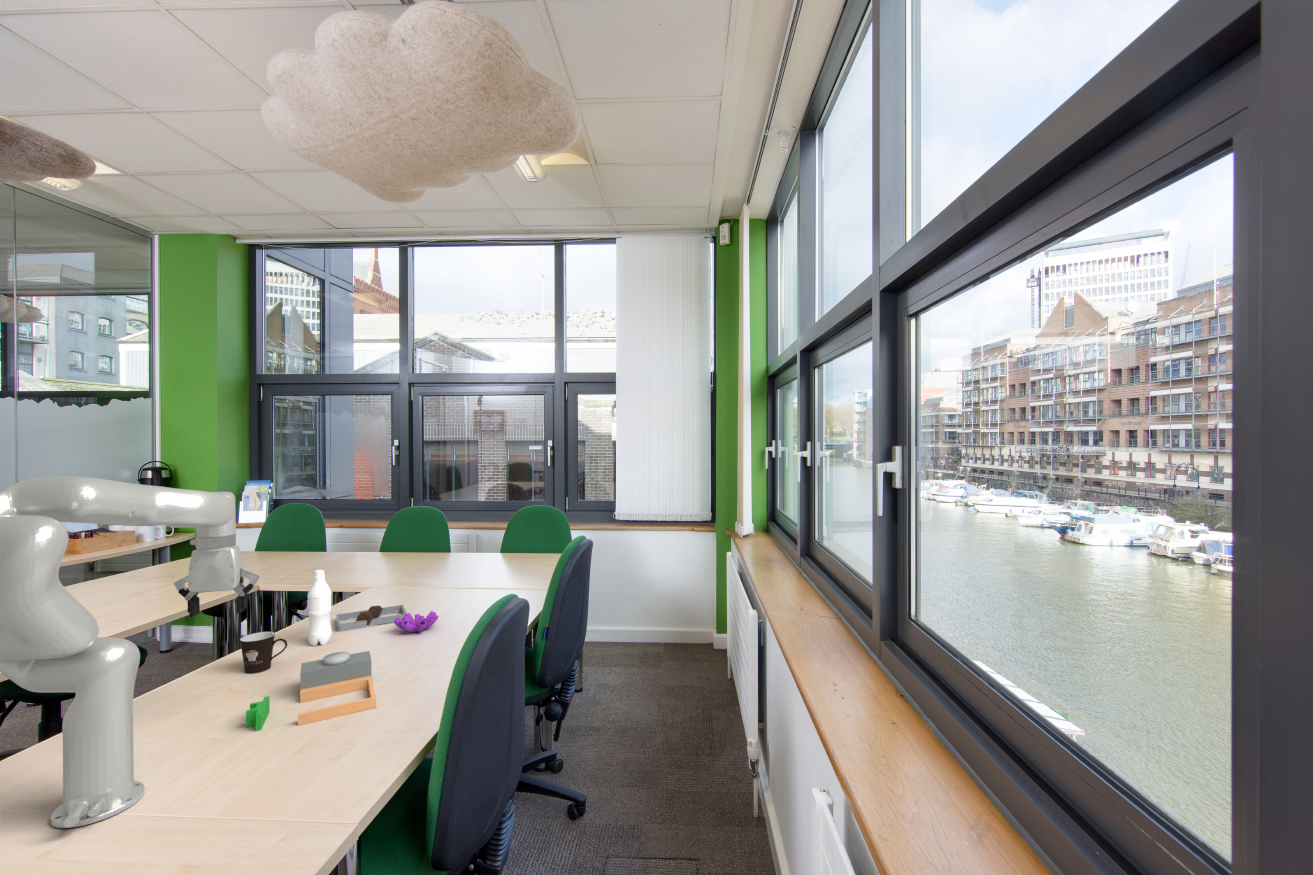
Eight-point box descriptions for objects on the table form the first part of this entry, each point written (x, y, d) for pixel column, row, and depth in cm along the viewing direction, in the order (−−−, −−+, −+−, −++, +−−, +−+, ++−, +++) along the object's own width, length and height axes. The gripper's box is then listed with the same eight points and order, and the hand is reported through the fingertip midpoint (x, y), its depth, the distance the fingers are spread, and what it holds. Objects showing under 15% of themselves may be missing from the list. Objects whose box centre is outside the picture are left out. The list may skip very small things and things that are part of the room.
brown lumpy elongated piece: (380, 618, 224) (365, 629, 209) (368, 612, 224) (353, 623, 209) (388, 605, 225) (374, 615, 210) (376, 599, 225) (361, 609, 210)
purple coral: (437, 639, 204) (435, 623, 199) (393, 644, 200) (389, 627, 195) (440, 613, 213) (438, 597, 208) (397, 617, 209) (394, 601, 204)
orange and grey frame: (375, 707, 145) (375, 674, 145) (297, 725, 136) (297, 690, 136) (369, 674, 166) (369, 645, 166) (301, 687, 157) (301, 657, 157)
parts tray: (407, 620, 217) (407, 613, 217) (337, 631, 205) (336, 624, 205) (402, 610, 229) (402, 604, 229) (336, 620, 217) (336, 614, 217)
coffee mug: (233, 673, 168) (232, 640, 168) (259, 662, 176) (259, 630, 176) (264, 677, 165) (264, 643, 165) (289, 665, 173) (289, 633, 174)
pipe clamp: (253, 715, 142) (252, 698, 142) (269, 712, 144) (269, 695, 144) (243, 734, 133) (243, 715, 133) (261, 730, 134) (261, 712, 134)
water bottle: (337, 640, 195) (336, 568, 196) (319, 647, 188) (318, 573, 189) (320, 638, 197) (319, 567, 198) (302, 646, 190) (302, 572, 191)
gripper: (165, 548, 130) (166, 621, 130) (250, 543, 135) (252, 614, 135) (183, 542, 137) (184, 611, 138) (264, 537, 142) (265, 605, 142)
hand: (218, 613), depth 136 cm, fingers open, 9 cm apart
